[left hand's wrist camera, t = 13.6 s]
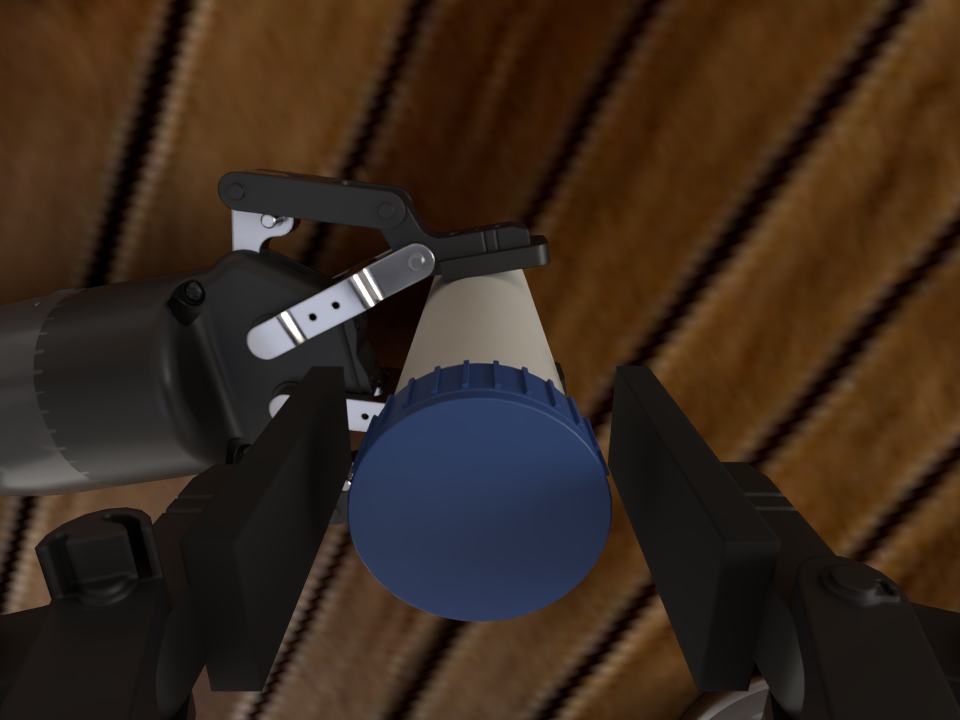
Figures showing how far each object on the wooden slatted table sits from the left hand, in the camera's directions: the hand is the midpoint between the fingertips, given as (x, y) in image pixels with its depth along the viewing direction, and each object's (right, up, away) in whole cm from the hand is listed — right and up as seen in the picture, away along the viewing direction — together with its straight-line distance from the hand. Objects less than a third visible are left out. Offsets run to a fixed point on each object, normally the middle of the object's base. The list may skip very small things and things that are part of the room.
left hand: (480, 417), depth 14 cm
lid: (0, -1, -4) cm, 4 cm away
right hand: (+3, +3, +7) cm, 8 cm away
